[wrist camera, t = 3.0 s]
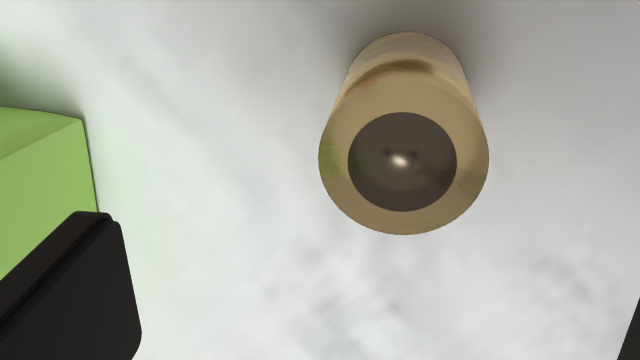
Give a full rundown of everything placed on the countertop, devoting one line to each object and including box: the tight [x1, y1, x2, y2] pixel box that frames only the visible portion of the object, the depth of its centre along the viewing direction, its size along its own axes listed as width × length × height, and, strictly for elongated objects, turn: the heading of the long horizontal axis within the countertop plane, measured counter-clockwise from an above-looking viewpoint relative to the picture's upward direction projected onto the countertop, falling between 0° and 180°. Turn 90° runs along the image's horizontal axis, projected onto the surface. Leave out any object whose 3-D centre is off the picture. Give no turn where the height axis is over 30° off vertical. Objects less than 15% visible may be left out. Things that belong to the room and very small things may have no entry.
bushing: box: [318, 32, 489, 235], centre depth 19 cm, size 5×5×7 cm
